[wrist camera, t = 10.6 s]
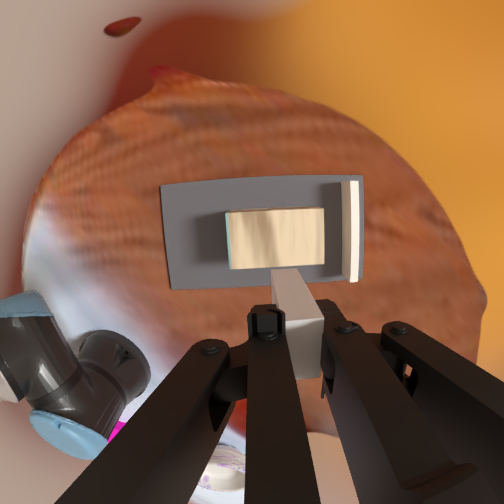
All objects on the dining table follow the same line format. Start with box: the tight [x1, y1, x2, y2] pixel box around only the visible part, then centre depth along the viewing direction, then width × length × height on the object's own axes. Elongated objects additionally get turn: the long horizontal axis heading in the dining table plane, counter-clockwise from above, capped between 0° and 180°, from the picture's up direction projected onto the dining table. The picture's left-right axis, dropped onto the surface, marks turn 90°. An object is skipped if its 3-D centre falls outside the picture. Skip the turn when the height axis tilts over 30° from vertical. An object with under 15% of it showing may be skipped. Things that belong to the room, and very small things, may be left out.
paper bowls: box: [197, 445, 245, 492], centre depth 47 cm, size 15×15×8 cm
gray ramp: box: [161, 175, 364, 290], centre depth 39 cm, size 30×16×1 cm, turn 93°
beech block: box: [225, 206, 324, 269], centre depth 36 cm, size 6×7×12 cm
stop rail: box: [341, 181, 359, 282], centre depth 37 cm, size 1×14×4 cm, turn 3°
